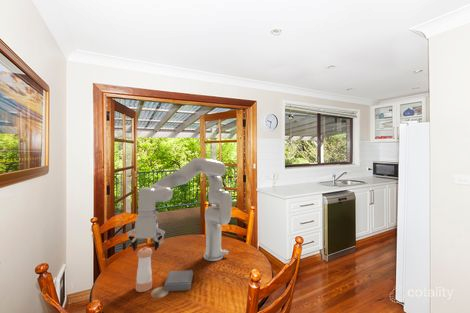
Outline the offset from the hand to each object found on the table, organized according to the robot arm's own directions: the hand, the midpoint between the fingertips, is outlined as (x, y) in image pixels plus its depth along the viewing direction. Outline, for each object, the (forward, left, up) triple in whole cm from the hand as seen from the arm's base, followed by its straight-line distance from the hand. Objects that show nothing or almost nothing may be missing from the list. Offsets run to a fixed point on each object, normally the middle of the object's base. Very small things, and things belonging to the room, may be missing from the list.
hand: (145, 249), depth 103 cm
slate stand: (-15, -3, -19) cm, 24 cm away
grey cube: (+7, -54, -19) cm, 57 cm away
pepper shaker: (+1, -1, -19) cm, 19 cm away
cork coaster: (-8, +3, -20) cm, 21 cm away
